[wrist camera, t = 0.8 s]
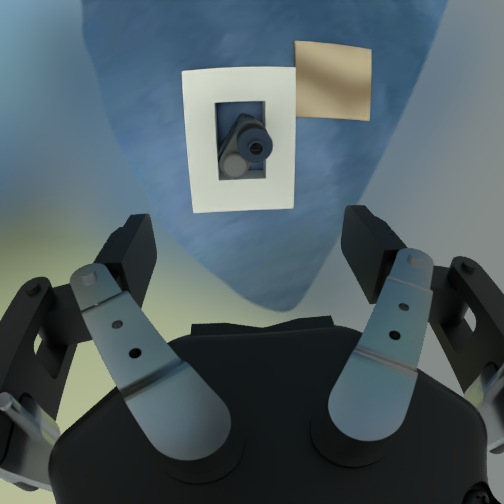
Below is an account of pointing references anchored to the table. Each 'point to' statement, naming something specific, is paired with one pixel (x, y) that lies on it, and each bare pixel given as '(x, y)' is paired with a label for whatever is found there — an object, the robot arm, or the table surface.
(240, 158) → the vaping device
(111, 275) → the robot arm
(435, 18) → the table surface
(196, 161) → the white cutout frame
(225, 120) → the table surface
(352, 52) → the tan rectangular block
